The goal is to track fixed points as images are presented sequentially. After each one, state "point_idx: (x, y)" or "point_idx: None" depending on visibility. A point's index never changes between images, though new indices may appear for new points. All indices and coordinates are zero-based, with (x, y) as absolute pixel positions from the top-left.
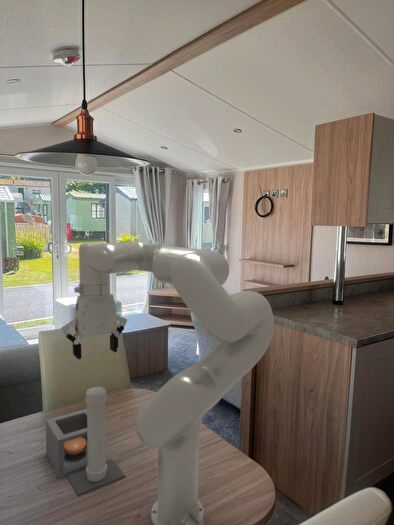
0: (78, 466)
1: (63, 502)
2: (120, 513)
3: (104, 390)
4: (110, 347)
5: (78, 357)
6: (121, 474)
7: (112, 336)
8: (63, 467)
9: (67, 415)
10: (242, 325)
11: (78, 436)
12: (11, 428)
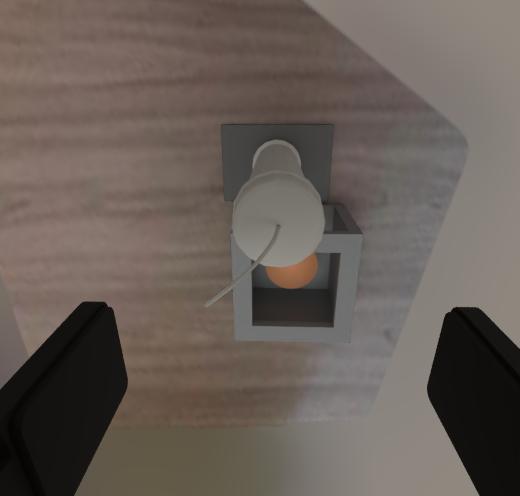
0: None
1: (363, 124)
2: (278, 10)
3: (243, 208)
4: (119, 391)
5: (481, 322)
6: (227, 133)
7: (27, 490)
8: (326, 226)
9: (296, 334)
10: None
11: None
12: (359, 406)
